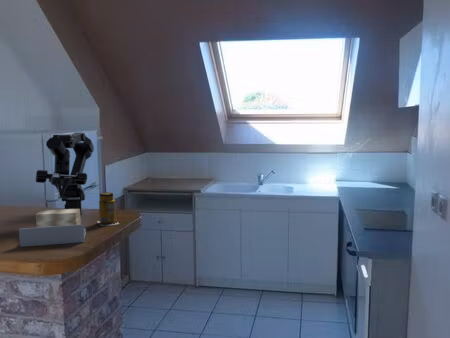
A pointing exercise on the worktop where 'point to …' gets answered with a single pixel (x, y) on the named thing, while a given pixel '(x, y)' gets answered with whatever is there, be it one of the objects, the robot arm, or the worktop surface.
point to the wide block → (58, 217)
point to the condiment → (107, 209)
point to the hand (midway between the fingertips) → (61, 196)
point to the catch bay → (52, 235)
